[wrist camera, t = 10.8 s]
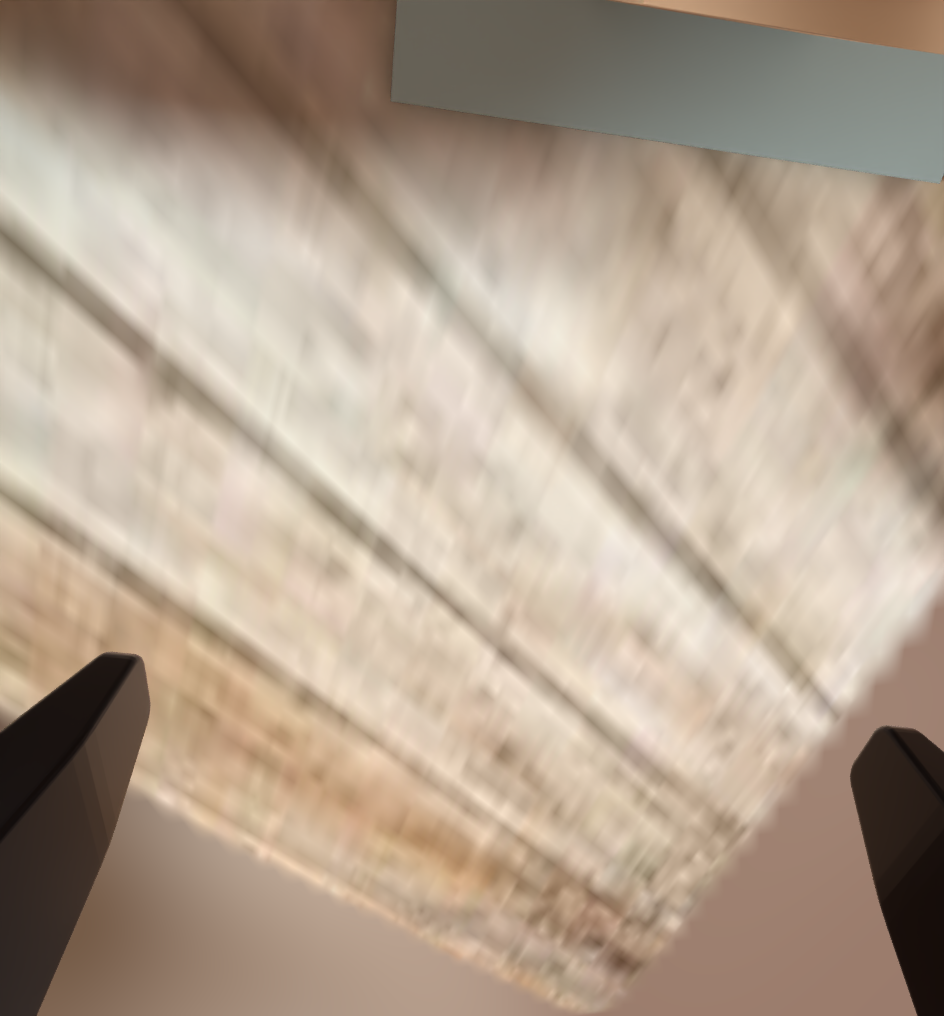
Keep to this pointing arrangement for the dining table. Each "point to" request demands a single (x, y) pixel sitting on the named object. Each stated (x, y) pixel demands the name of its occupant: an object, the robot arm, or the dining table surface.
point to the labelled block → (829, 18)
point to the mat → (676, 81)
